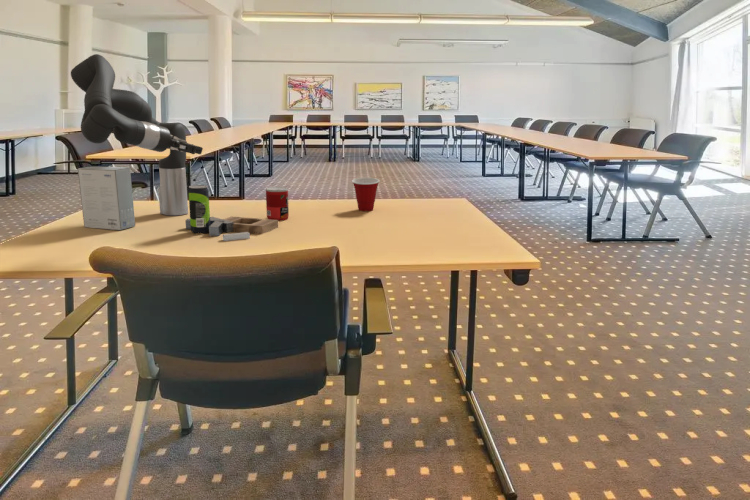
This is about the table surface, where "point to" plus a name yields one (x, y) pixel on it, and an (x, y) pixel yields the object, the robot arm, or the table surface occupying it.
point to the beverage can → (199, 208)
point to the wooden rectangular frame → (252, 224)
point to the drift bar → (236, 236)
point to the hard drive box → (106, 197)
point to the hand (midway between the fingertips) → (192, 147)
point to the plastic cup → (365, 192)
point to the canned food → (277, 203)
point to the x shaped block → (216, 226)
